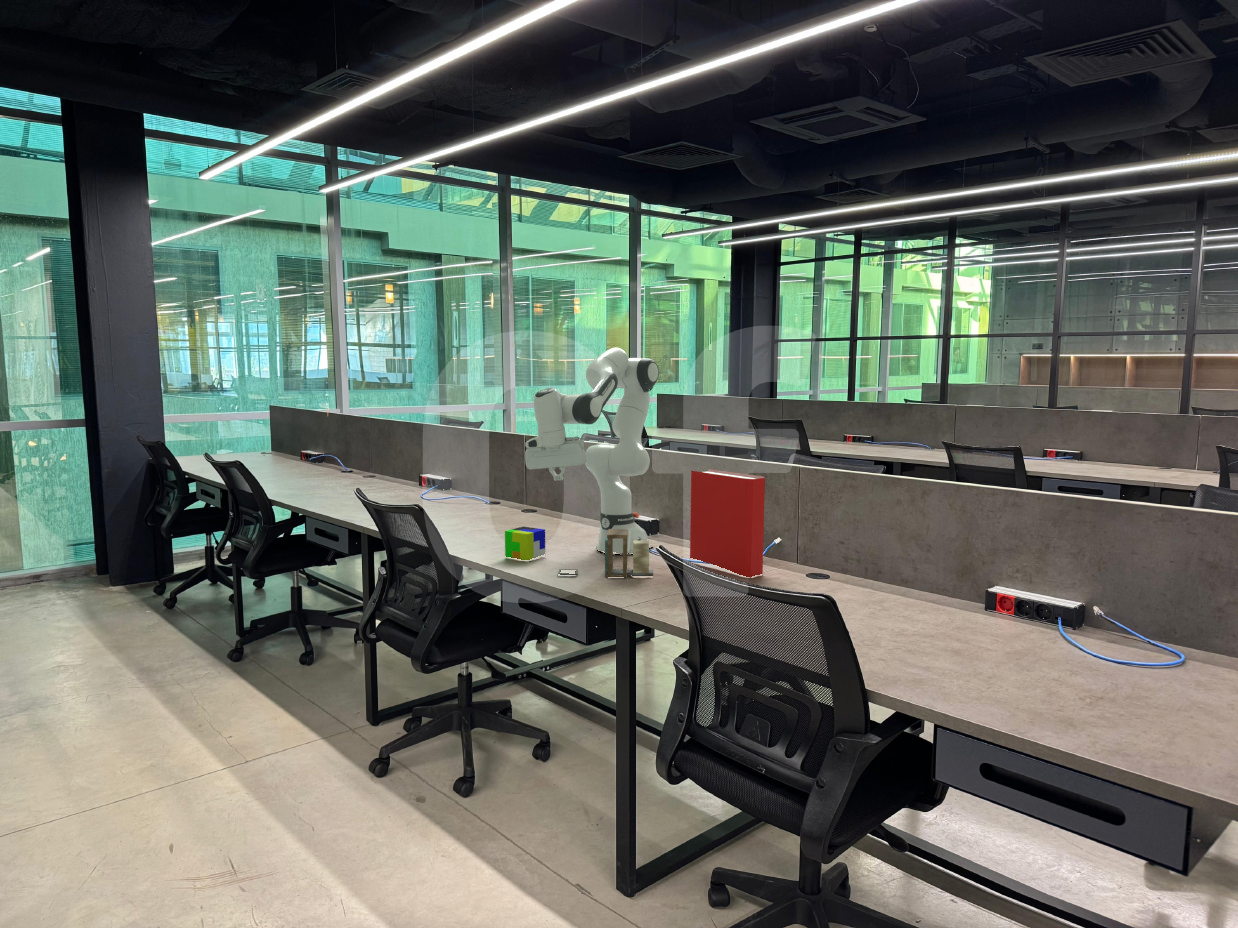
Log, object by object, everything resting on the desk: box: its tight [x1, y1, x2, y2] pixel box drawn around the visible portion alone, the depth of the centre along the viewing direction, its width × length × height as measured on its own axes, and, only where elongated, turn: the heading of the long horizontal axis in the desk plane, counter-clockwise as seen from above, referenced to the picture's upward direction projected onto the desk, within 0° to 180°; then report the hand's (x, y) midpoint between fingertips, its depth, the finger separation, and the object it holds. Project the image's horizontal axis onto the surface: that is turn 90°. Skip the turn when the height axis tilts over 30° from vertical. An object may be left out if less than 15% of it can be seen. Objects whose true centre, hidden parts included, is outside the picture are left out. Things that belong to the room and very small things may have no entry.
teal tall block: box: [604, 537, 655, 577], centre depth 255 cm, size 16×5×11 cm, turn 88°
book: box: [689, 468, 766, 577], centre depth 263 cm, size 27×8×32 cm, turn 37°
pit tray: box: [557, 568, 579, 576], centre depth 256 cm, size 6×6×1 cm
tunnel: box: [607, 529, 628, 579], centre depth 255 cm, size 6×9×14 cm
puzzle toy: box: [504, 526, 546, 560], centre depth 278 cm, size 10×10×10 cm
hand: (559, 480), depth 260 cm, fingers closed
